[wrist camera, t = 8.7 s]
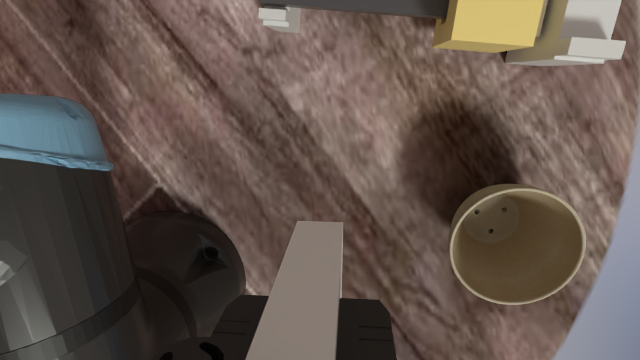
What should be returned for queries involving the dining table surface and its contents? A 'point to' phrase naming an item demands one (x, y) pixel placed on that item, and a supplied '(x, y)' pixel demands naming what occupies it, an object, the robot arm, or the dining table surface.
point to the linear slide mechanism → (549, 50)
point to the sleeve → (488, 25)
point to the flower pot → (515, 243)
